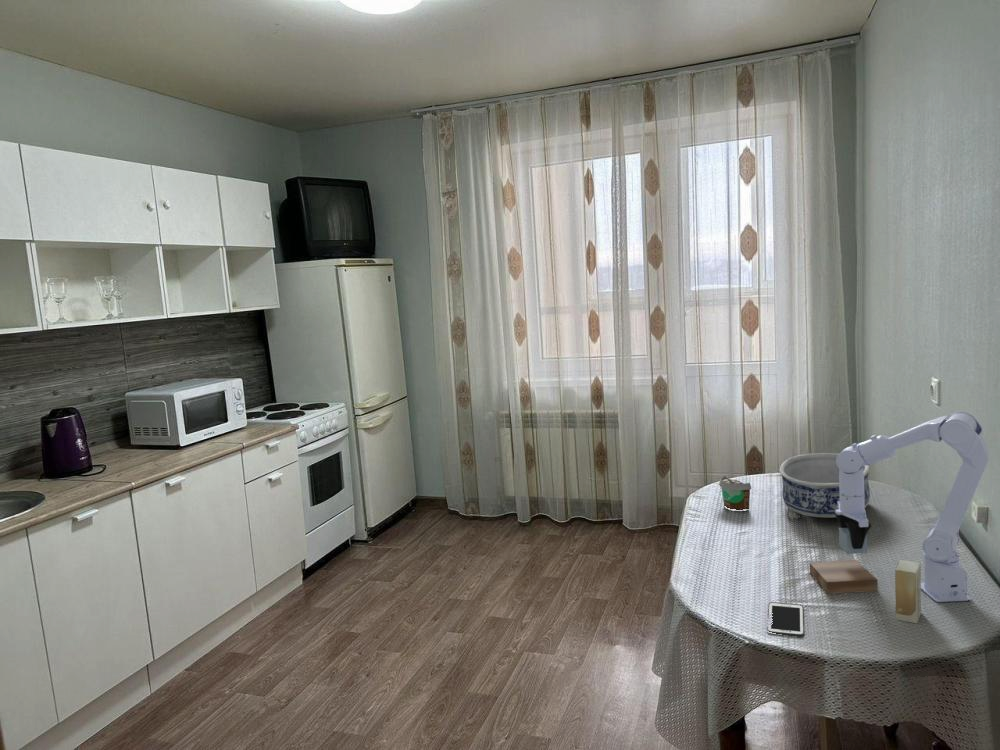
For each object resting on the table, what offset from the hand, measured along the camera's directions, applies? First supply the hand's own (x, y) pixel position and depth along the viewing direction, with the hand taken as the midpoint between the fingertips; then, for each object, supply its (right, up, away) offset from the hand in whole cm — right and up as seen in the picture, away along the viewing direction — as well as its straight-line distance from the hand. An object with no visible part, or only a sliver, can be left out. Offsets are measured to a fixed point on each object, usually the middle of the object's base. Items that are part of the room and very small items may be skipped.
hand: (852, 544), depth 180 cm
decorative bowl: (+16, -1, +50) cm, 52 cm away
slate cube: (0, -1, 0) cm, 2 cm away
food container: (-12, -2, +57) cm, 59 cm away
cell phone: (-25, -14, -18) cm, 34 cm away
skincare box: (+2, -12, -21) cm, 24 cm away
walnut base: (-4, -9, -2) cm, 10 cm away
